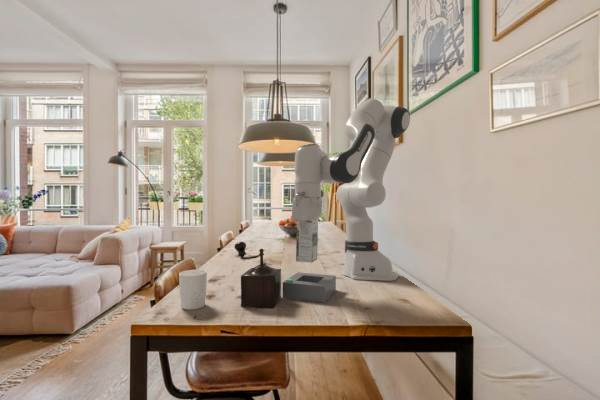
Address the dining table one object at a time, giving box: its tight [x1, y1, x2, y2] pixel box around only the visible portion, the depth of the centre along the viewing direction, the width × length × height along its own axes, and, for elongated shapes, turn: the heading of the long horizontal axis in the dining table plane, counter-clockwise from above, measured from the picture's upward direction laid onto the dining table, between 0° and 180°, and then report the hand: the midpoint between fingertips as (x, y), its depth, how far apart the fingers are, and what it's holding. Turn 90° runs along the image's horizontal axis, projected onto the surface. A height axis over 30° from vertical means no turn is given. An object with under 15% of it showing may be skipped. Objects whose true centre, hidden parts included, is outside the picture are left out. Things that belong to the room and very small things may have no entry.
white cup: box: [178, 268, 208, 311], centre depth 93 cm, size 8×8×10 cm
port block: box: [282, 272, 337, 304], centre depth 104 cm, size 14×14×6 cm
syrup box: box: [295, 218, 319, 264], centre depth 105 cm, size 6×6×14 cm
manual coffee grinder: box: [234, 241, 282, 309], centre depth 97 cm, size 16×11×18 cm
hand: (307, 233), depth 105 cm, fingers closed on syrup box, 6 cm apart
